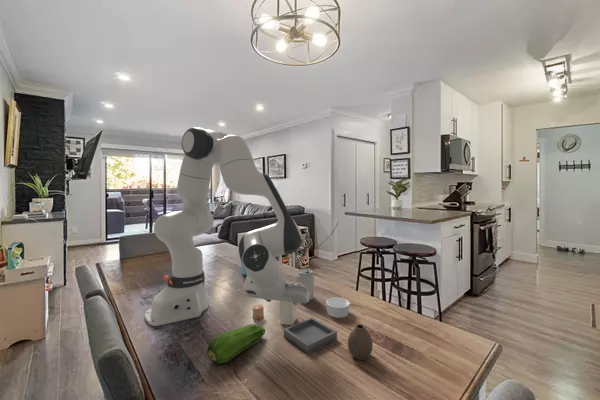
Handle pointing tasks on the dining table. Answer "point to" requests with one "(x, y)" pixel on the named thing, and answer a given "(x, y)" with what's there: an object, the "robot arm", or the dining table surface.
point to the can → (306, 280)
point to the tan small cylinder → (258, 312)
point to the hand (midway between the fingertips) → (282, 301)
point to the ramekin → (338, 307)
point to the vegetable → (233, 343)
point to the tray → (310, 335)
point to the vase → (360, 343)
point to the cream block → (287, 312)
